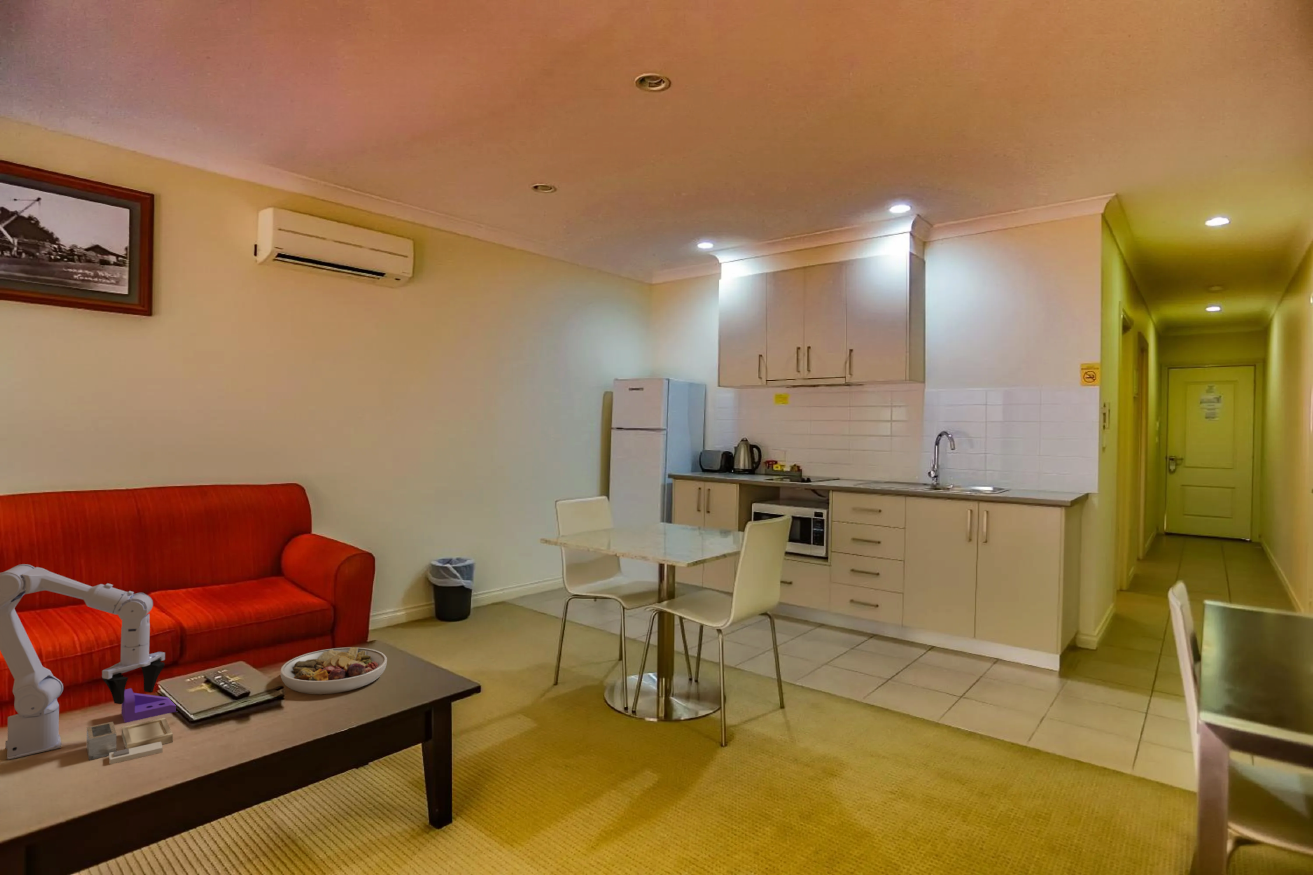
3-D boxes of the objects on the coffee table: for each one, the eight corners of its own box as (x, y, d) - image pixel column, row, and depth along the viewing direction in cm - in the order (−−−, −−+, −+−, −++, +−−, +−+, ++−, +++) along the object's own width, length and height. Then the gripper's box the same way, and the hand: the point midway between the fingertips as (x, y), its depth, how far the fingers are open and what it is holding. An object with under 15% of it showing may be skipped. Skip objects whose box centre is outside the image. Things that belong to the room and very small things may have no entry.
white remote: (162, 754, 166) (162, 745, 166) (109, 766, 160) (109, 757, 160) (161, 747, 169) (161, 739, 169) (109, 759, 163) (109, 751, 163)
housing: (88, 760, 161) (89, 739, 161) (86, 747, 167) (86, 727, 167) (116, 753, 164) (116, 733, 164) (112, 741, 170) (113, 721, 170)
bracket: (124, 724, 180) (125, 698, 180) (121, 715, 185) (121, 690, 185) (179, 711, 189) (180, 686, 189) (175, 703, 194) (175, 679, 194)
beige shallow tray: (127, 752, 165) (127, 744, 165) (121, 734, 174) (121, 726, 174) (172, 741, 171) (172, 733, 171) (165, 724, 180) (165, 717, 180)
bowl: (261, 681, 212) (261, 655, 211) (352, 655, 236) (352, 632, 236) (313, 707, 194) (314, 679, 194) (406, 676, 219) (406, 652, 219)
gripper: (118, 654, 165) (117, 710, 165) (174, 637, 179) (173, 688, 179) (95, 651, 167) (94, 706, 167) (153, 633, 181) (152, 685, 181)
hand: (133, 697), depth 173 cm, fingers open, 7 cm apart
